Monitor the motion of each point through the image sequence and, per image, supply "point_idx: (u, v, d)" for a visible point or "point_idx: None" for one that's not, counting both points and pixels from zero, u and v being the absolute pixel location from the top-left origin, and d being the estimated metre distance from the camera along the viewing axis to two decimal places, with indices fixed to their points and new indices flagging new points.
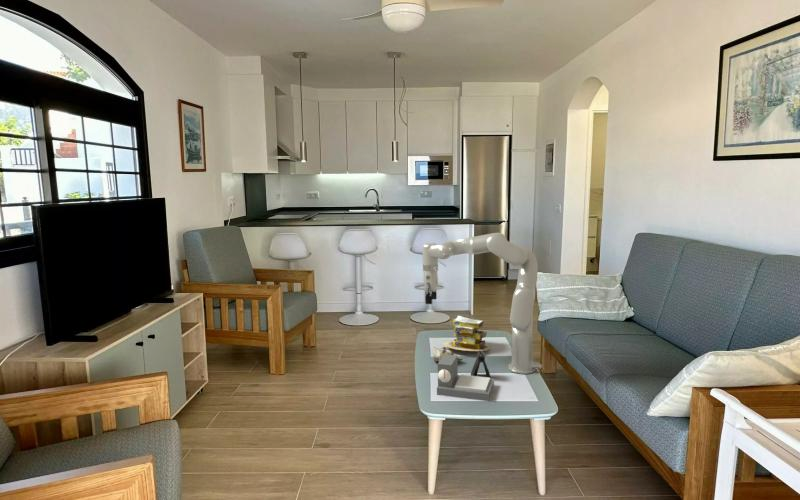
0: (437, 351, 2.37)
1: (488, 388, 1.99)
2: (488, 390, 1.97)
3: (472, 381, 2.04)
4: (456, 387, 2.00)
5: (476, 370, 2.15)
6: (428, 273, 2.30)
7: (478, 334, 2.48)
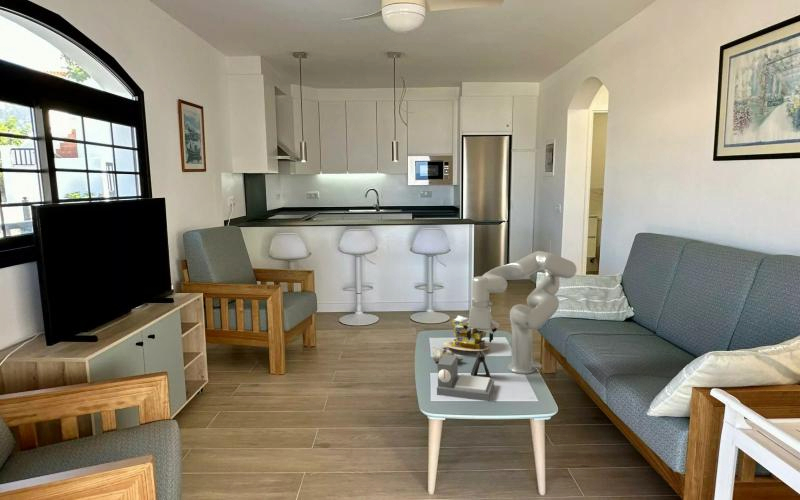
0: (437, 351, 2.37)
1: (488, 388, 1.99)
2: (488, 390, 1.97)
3: (472, 381, 2.04)
4: (456, 387, 2.00)
5: (476, 370, 2.15)
6: (490, 308, 2.12)
7: (478, 334, 2.48)
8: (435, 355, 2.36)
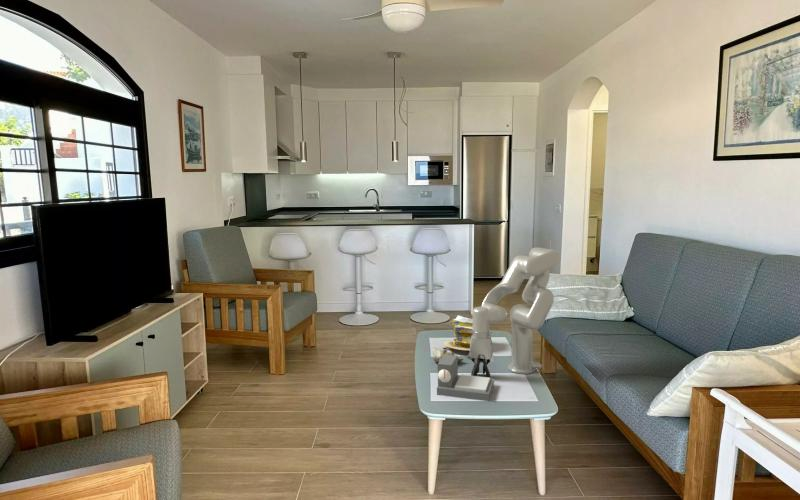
0: (438, 351, 2.36)
1: (488, 388, 1.99)
2: (488, 390, 1.97)
3: (472, 381, 2.04)
4: (456, 387, 2.00)
5: (476, 370, 2.15)
6: (490, 338, 2.14)
7: None
8: (435, 355, 2.36)
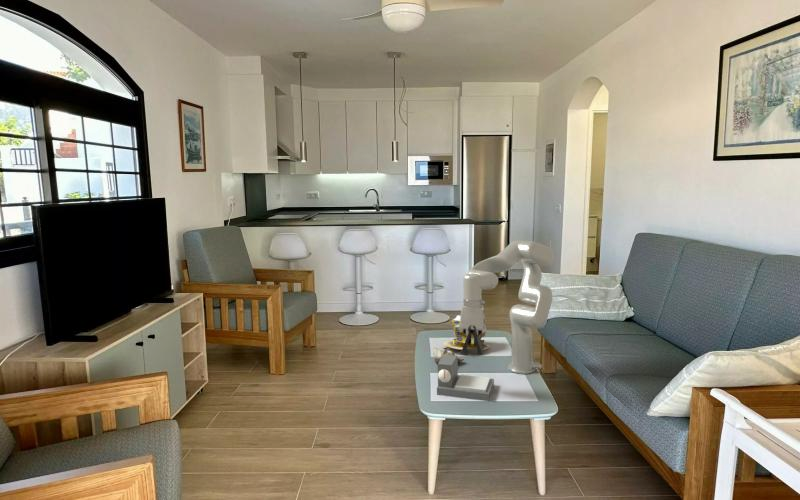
0: (438, 352, 2.36)
1: (488, 388, 1.99)
2: (488, 390, 1.97)
3: (472, 381, 2.04)
4: (456, 387, 2.00)
5: (466, 343, 1.99)
6: (483, 307, 1.98)
7: None
8: (436, 355, 2.35)
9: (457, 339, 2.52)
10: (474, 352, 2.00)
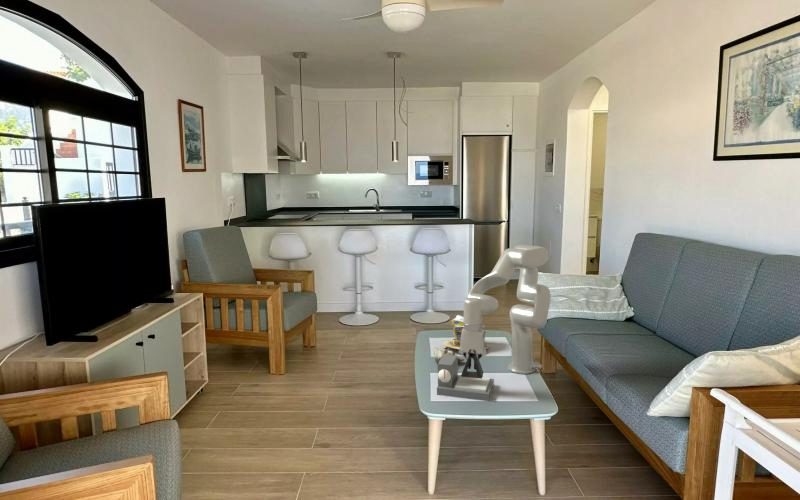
0: (439, 351, 2.36)
1: (488, 388, 1.99)
2: (488, 390, 1.97)
3: (472, 381, 2.04)
4: (456, 387, 2.00)
5: (466, 366, 2.00)
6: (483, 331, 1.99)
7: None
8: (436, 355, 2.35)
9: (457, 339, 2.52)
10: (474, 376, 2.01)
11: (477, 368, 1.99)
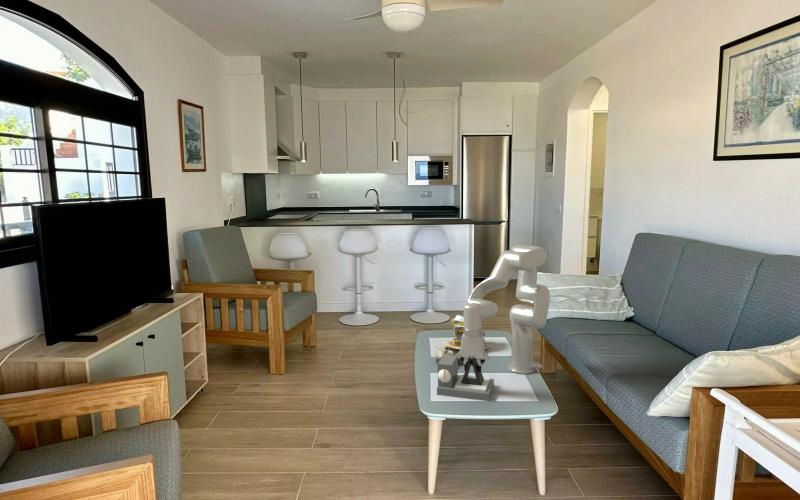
0: (439, 351, 2.36)
1: (488, 388, 1.99)
2: (488, 390, 1.97)
3: None
4: (456, 387, 2.00)
5: (465, 373, 2.01)
6: (483, 337, 2.00)
7: None
8: (437, 355, 2.35)
9: (457, 339, 2.52)
10: (474, 382, 2.02)
11: (477, 375, 2.00)
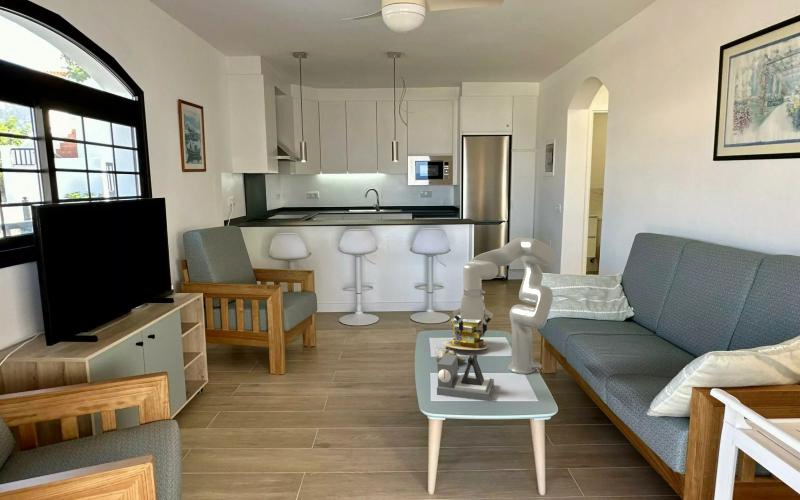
0: (440, 351, 2.36)
1: (488, 388, 1.99)
2: (488, 390, 1.97)
3: None
4: (456, 387, 2.00)
5: (465, 373, 2.01)
6: (483, 297, 1.98)
7: (477, 333, 2.50)
8: (437, 355, 2.36)
9: (457, 339, 2.52)
10: (474, 382, 2.02)
11: (477, 375, 2.00)
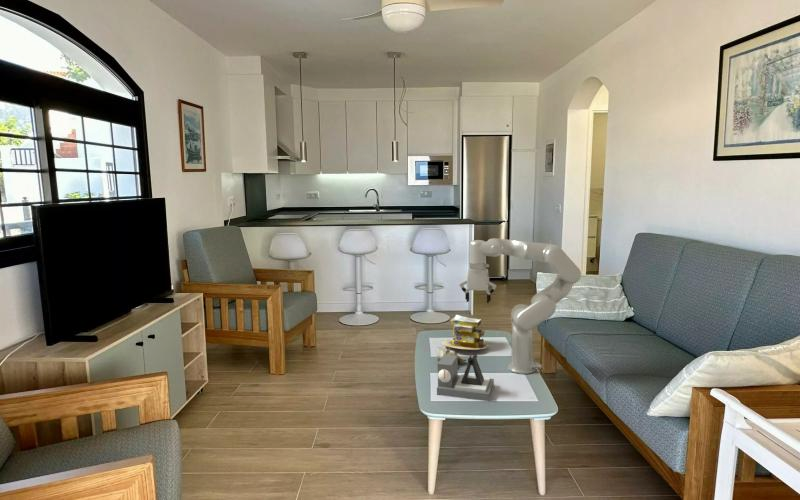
0: (441, 351, 2.37)
1: (488, 388, 1.99)
2: (488, 390, 1.97)
3: None
4: (456, 387, 2.00)
5: (465, 373, 2.01)
6: (487, 270, 2.20)
7: (477, 333, 2.50)
8: (438, 355, 2.36)
9: (456, 338, 2.53)
10: (474, 382, 2.02)
11: (477, 375, 2.00)
